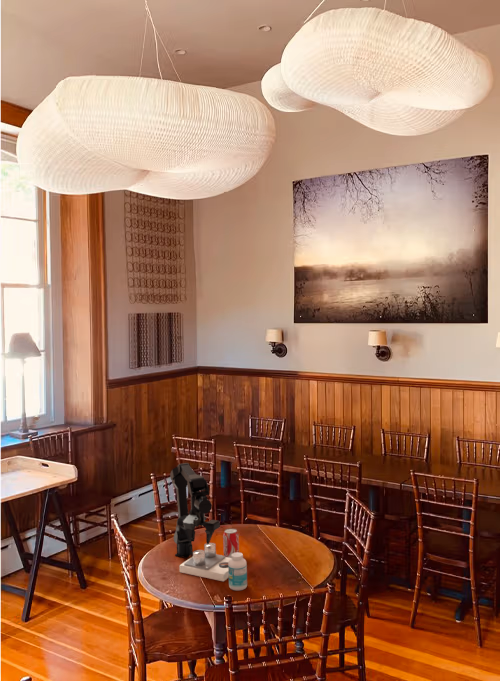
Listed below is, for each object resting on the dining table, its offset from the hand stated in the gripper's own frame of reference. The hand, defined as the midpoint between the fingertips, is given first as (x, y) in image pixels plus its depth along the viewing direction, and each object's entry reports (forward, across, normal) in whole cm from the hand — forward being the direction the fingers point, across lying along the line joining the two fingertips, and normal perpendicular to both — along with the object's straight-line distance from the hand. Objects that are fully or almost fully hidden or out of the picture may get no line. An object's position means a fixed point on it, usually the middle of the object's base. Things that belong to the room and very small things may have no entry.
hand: (198, 542), depth 262 cm
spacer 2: (+9, 0, +9) cm, 13 cm away
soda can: (+13, +4, +20) cm, 25 cm away
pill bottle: (+13, +22, -6) cm, 26 cm away
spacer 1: (+9, 0, 0) cm, 9 cm away
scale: (+13, +3, +4) cm, 14 cm away
